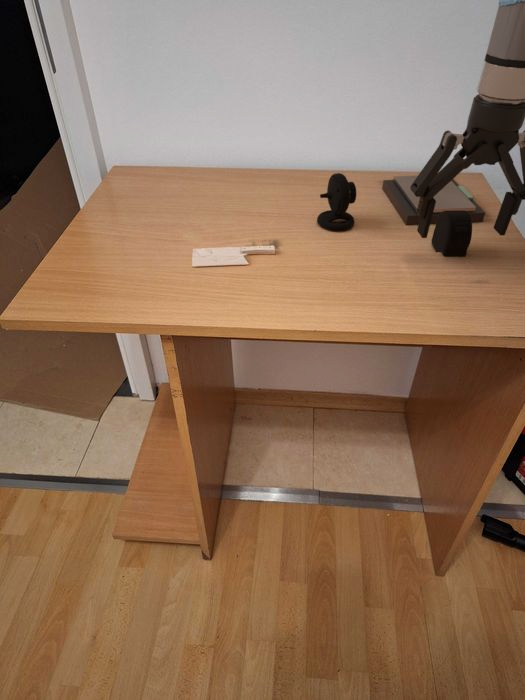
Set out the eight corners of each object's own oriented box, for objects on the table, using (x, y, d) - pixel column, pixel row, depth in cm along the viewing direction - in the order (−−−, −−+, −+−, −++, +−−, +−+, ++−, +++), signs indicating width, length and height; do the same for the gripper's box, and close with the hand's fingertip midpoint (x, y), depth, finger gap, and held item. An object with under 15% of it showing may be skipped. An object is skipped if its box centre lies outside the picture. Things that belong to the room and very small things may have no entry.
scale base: (449, 186, 112) (452, 174, 110) (482, 221, 98) (486, 209, 96) (382, 188, 111) (383, 177, 109) (405, 225, 97) (408, 213, 96)
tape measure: (429, 243, 92) (440, 203, 86) (452, 243, 92) (464, 203, 86) (453, 286, 81) (466, 243, 76) (479, 286, 81) (494, 243, 76)
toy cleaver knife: (276, 263, 86) (276, 258, 85) (192, 267, 86) (191, 262, 85) (274, 249, 90) (274, 243, 89) (193, 252, 89) (192, 247, 89)
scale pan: (444, 177, 110) (445, 174, 109) (475, 211, 97) (476, 207, 96) (392, 179, 109) (393, 176, 108) (416, 213, 96) (417, 209, 96)
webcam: (360, 229, 96) (367, 180, 89) (324, 234, 94) (329, 184, 88) (345, 212, 101) (351, 165, 95) (311, 217, 100) (315, 168, 93)
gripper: (571, 88, 72) (520, 220, 86) (408, 90, 70) (383, 224, 84) (602, 102, 66) (541, 241, 80) (425, 105, 65) (395, 246, 79)
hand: (460, 233), depth 82 cm, fingers open, 13 cm apart
